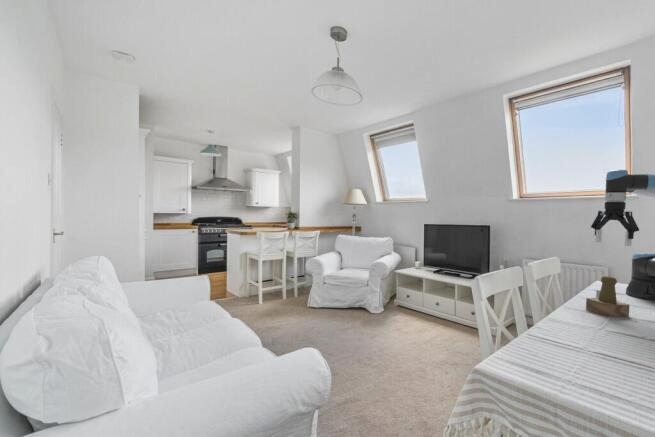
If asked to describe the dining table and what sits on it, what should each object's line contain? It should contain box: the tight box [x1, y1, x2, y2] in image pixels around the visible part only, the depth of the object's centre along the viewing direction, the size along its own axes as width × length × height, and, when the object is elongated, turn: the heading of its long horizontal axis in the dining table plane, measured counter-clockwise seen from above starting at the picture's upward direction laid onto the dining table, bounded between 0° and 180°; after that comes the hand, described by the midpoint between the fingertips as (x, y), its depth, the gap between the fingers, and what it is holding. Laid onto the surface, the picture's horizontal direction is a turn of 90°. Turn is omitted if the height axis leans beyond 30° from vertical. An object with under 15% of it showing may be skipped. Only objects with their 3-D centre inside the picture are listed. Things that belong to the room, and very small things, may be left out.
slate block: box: [595, 289, 601, 298], centre depth 147 cm, size 5×5×6 cm
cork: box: [598, 275, 618, 303], centre depth 134 cm, size 6×6×11 cm
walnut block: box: [585, 297, 630, 318], centre depth 134 cm, size 10×10×5 cm
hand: (612, 243), depth 151 cm, fingers open, 13 cm apart
